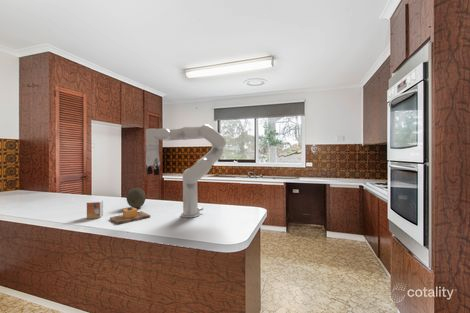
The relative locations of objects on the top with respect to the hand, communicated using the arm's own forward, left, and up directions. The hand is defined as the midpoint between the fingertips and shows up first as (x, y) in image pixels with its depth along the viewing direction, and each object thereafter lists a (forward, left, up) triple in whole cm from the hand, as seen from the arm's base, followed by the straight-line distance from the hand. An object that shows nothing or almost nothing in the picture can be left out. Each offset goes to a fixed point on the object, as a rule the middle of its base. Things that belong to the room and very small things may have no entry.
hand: (153, 174), depth 144 cm
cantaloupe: (-3, -36, -28) cm, 46 cm away
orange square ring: (+11, -10, -27) cm, 31 cm away
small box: (+26, -30, -29) cm, 49 cm away
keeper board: (+11, -10, -28) cm, 32 cm away
